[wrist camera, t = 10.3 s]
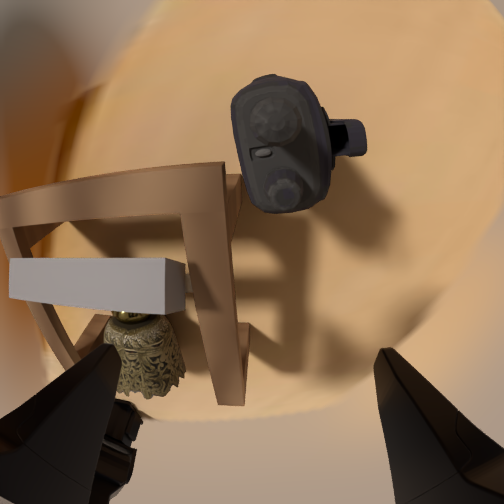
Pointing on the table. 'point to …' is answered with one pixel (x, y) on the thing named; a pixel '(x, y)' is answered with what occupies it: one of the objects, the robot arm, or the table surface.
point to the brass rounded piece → (145, 353)
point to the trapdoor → (102, 283)
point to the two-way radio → (289, 143)
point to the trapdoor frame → (196, 245)
